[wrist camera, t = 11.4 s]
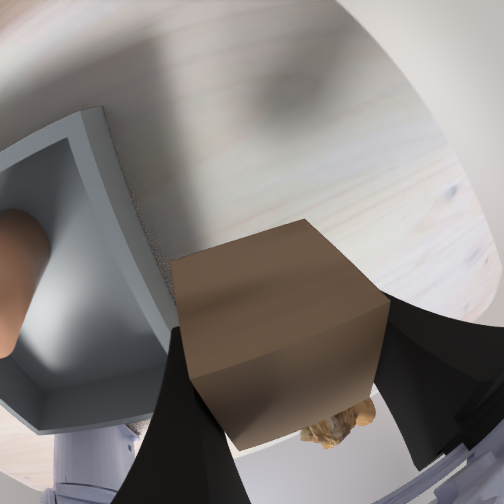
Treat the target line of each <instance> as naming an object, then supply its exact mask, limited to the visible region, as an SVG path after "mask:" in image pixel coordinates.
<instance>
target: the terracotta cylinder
mask: <svg viewBox="0 0 504 504" xmlns="http://www.w3.org/2000/svg"><path fill="white" fill-rule="evenodd" d="M49 259H50V245H49V241H48V238H47V235H46V233H45V231H44V229H43V228H42V226H41V225H40V224H39V222H38V221H37V220H36V219H35V218H34V217H32V216H31V215H30V214H28V213H26V212H24V211H22V210H18V209H6V210H3V211H0V358H4V357H6V356H8V355H9V354H11V353H12V351H13V350H14V347H15V344H16V341H17V339H18V336H19V333H20V330H21V327H22V325H23V322H24V319H25V317H26V314H27V311H28V309H29V306H30V304H31V302H32V299H33V297H34V294H35V292H36V290H37V288H38V285H39V283H40V281H41V279H42V276H43V274H44V272H45V270H46V268H47V266H48V263H49Z"/></svg>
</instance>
